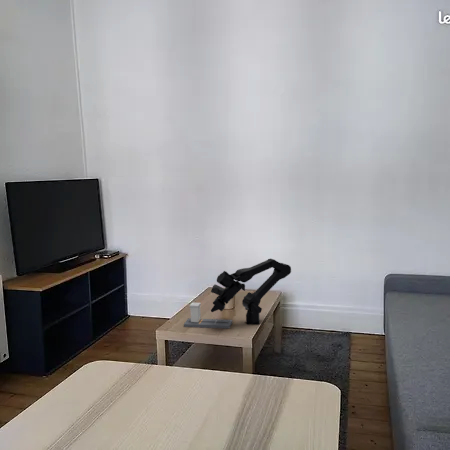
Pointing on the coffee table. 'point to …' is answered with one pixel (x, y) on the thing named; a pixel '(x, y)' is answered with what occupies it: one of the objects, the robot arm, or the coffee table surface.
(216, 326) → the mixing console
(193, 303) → the fader knob
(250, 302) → the robot arm
